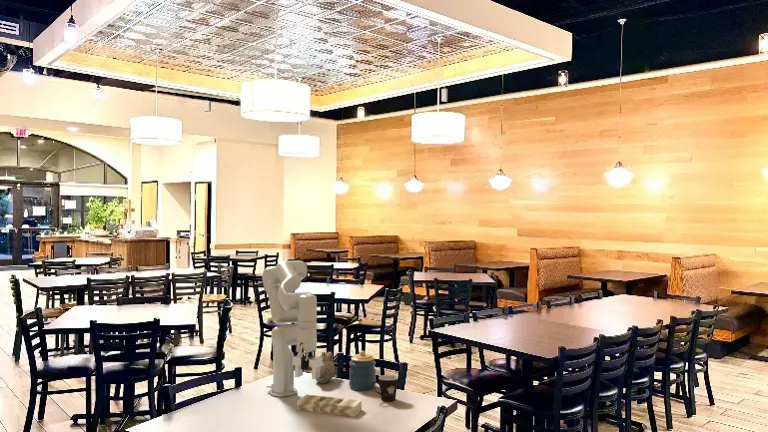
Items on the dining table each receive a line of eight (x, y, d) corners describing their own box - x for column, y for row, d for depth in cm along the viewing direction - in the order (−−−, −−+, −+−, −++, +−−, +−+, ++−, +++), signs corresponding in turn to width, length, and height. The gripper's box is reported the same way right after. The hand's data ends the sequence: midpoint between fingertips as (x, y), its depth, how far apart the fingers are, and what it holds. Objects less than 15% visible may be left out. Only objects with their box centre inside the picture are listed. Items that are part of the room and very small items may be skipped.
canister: (360, 392, 272) (360, 355, 273) (343, 387, 282) (343, 350, 282) (381, 387, 281) (381, 351, 281) (364, 381, 291) (364, 346, 291)
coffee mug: (398, 397, 266) (398, 375, 266) (397, 403, 257) (397, 380, 258) (373, 396, 267) (373, 374, 267) (371, 402, 259) (371, 379, 259)
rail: (297, 409, 248) (297, 400, 248) (306, 403, 257) (306, 394, 257) (353, 416, 240) (353, 406, 240) (361, 409, 248) (361, 400, 248)
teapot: (329, 388, 280) (329, 356, 280) (306, 386, 282) (306, 355, 282) (341, 376, 301) (341, 347, 301) (319, 375, 303) (319, 346, 303)
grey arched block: (292, 376, 244) (292, 357, 244) (296, 374, 247) (297, 355, 247) (317, 379, 239) (318, 360, 239) (322, 377, 243) (322, 358, 243)
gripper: (309, 320, 253) (308, 362, 253) (289, 327, 237) (289, 372, 237) (324, 321, 250) (324, 364, 250) (306, 328, 234) (305, 374, 234)
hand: (307, 367), depth 243 cm, fingers closed on grey arched block, 4 cm apart
